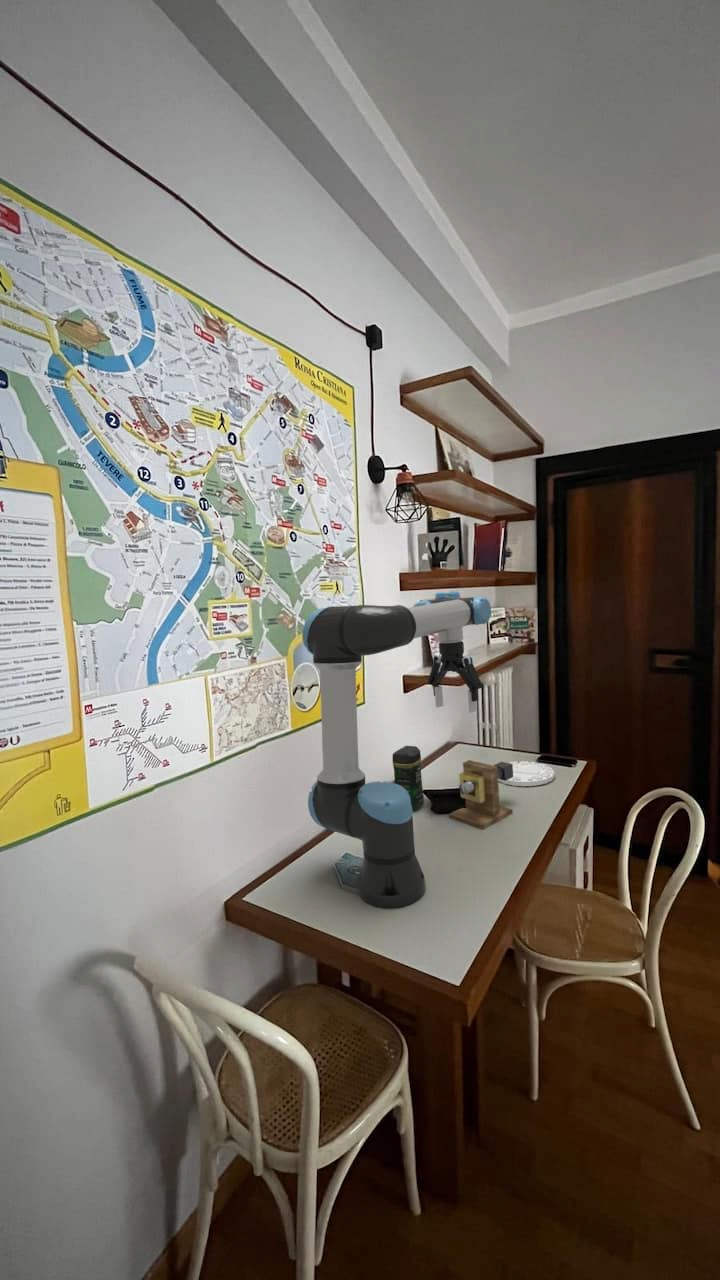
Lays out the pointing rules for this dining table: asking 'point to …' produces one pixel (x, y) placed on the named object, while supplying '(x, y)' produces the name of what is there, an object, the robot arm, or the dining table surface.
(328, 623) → the robot arm
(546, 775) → the giant coin
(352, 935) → the dining table surface
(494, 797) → the bracket
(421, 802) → the coffee jar
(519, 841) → the dining table surface
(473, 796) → the spacer
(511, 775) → the shaft
